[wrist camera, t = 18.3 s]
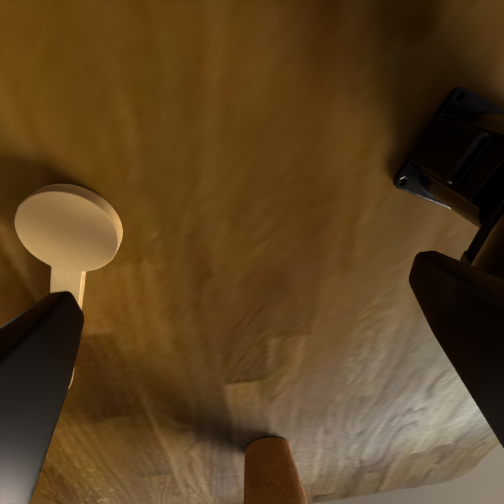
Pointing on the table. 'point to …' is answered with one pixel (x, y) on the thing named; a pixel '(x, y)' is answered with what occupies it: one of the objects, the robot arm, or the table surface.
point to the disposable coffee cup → (271, 473)
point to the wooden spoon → (69, 233)
